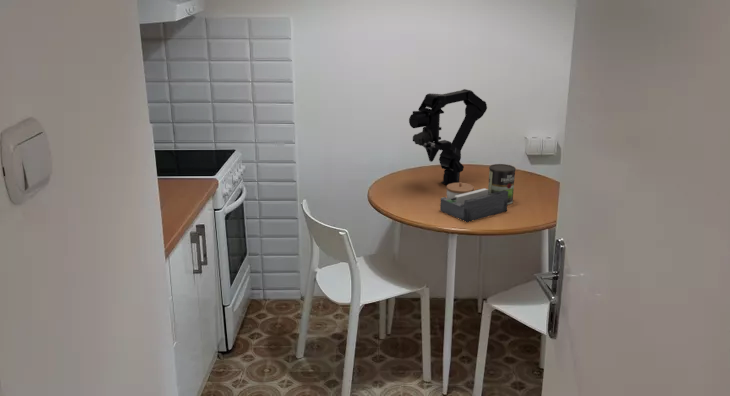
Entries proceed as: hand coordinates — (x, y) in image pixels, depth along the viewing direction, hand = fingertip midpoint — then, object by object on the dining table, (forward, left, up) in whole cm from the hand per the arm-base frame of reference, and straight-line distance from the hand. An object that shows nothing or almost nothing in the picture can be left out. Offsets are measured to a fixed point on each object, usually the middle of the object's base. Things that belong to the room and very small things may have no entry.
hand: (431, 161), depth 296 cm
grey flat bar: (+5, +29, -11) cm, 31 cm away
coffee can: (-13, +28, -12) cm, 33 cm away
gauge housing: (+4, +30, -12) cm, 33 cm away
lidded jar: (+4, +22, -12) cm, 26 cm away
